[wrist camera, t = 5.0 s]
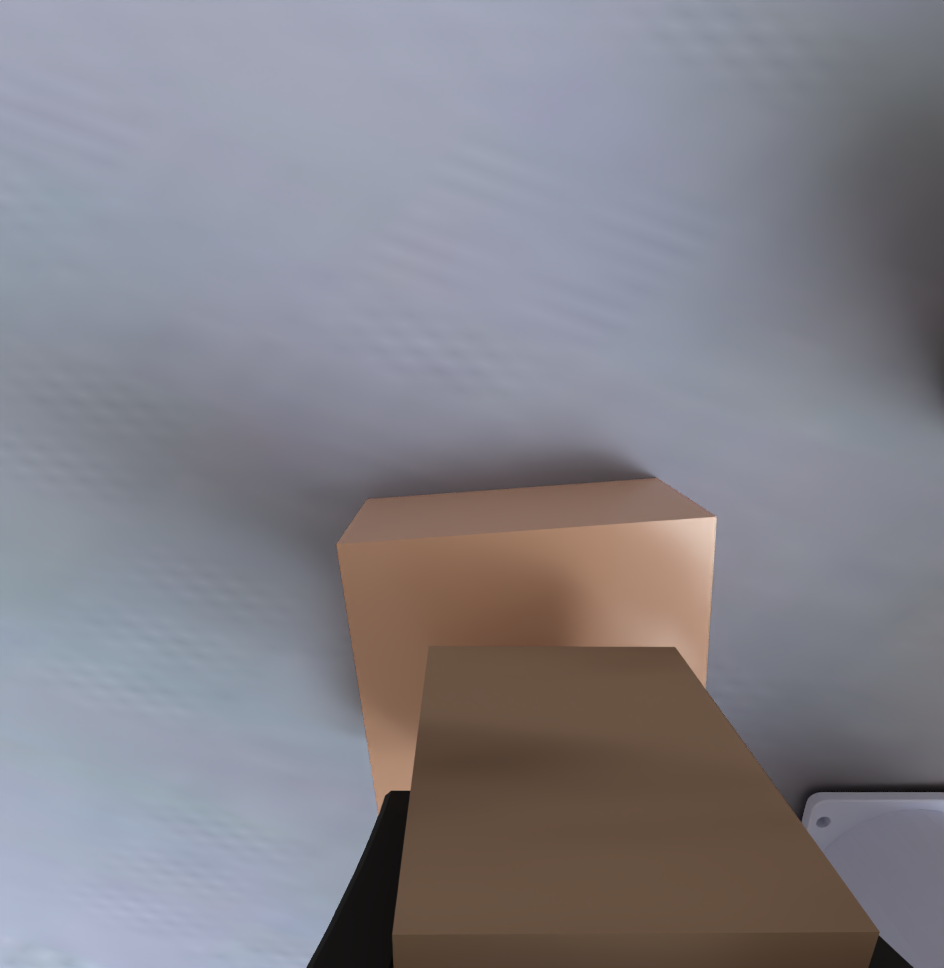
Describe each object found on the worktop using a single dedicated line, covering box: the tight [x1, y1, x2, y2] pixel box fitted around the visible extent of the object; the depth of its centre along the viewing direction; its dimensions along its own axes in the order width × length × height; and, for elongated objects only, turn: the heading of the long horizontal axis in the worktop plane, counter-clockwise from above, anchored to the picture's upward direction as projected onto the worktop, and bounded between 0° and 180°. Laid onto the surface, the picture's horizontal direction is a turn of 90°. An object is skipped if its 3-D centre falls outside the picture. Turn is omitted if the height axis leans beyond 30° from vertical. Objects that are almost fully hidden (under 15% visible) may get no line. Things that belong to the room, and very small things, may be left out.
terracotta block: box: [336, 478, 717, 814], centre depth 14 cm, size 9×9×4 cm
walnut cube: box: [392, 646, 880, 968], centre depth 8 cm, size 5×5×5 cm
